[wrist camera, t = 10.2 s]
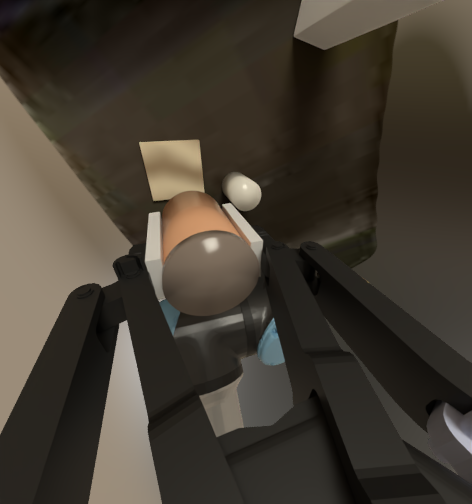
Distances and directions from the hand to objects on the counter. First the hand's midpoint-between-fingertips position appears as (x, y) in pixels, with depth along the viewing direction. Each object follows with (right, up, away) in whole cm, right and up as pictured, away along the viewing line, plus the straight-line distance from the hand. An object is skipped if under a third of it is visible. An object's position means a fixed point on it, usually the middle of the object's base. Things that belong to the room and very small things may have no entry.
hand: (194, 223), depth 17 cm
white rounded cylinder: (+3, +10, +22) cm, 25 cm away
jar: (0, 0, 0) cm, 1 cm away
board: (-7, +11, +18) cm, 22 cm away
